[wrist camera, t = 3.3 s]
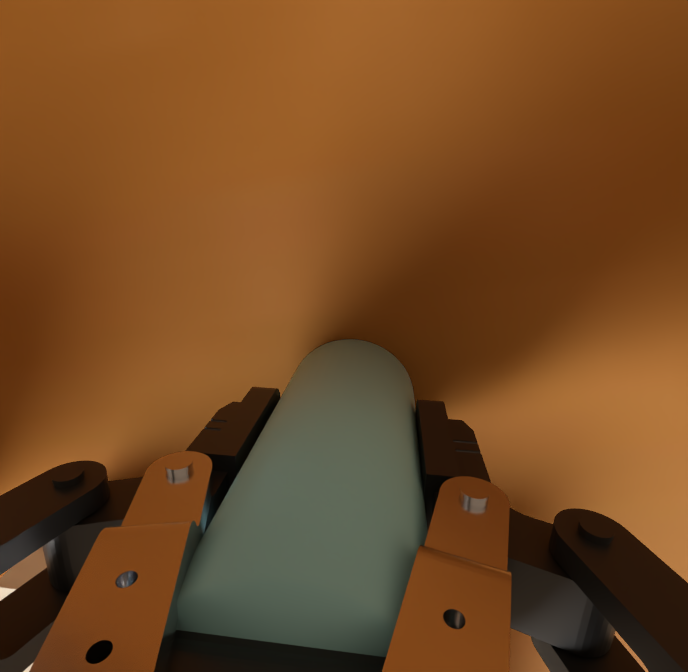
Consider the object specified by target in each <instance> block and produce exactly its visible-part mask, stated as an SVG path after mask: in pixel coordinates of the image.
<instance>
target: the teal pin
mask: <svg viewBox="0 0 688 672" xmlns="http://www.w3.org/2000/svg"><path fill="white" fill-rule="evenodd" d="M415 412H416V410H415V400H414V391H413V386H412V382H411V379H410V377H409V375H408V373H407V371H406V369H405V368H404V366H403V365H402V364H401V362H400V361H399V360H398V359H397V358H396V357H395V356H394V355H393V354H391V353H390V352H388V351H387V350H386V349H384V348H382V347H380V346H378V345H376V344H373V343H371V342H367V341H363V340H356V339H343V340H336V341H332V342H329V343H326V344H324V345H322V346H320V347H318V348H316V349H315V350H313V351H312V352H311V353H309V354H308V355H307V356H306V357H305V358H304V359H303V361H302V362H301V363H300V365H299V366H298V368H297V370H296V371H295V373H294V375H293V377H292V379H291V380H290V382H289V384H288V386H287V387H286V389H285V391H284V393H283V395H282V396H281V398H280V400H279V402H278V403H277V405H276V407H275V409H274V411H273V412H272V414H271V416H270V418H269V419H268V421H267V423H266V425H265V427H264V428H263V430H262V432H261V434H260V435H259V437H258V439H257V441H256V443H255V444H254V446H253V448H252V450H251V451H250V453H249V455H248V457H247V459H246V460H245V462H244V464H243V466H242V468H241V469H240V471H239V473H238V475H237V476H236V478H235V480H234V482H233V484H232V485H231V487H230V489H229V491H228V492H227V494H226V496H225V498H224V500H223V501H222V503H221V505H220V507H219V508H218V510H217V512H216V514H215V516H214V517H213V519H212V521H211V523H210V524H209V526H208V528H207V530H206V532H205V533H204V535H203V537H202V539H201V541H200V542H199V544H198V546H197V548H196V551H195V553H194V556H193V558H192V560H191V563H190V566H189V568H188V571H187V574H186V577H185V580H184V582H183V585H182V588H181V591H180V594H179V597H178V600H177V609H178V622H177V627H176V630H182V631H190V632H198V633H205V634H213V635H220V636H228V637H236V638H243V639H251V640H259V641H266V642H274V643H281V644H289V645H297V646H304V647H312V648H320V649H327V650H335V651H342V652H350V653H358V654H365V655H373V656H380V657H386V656H387V653H388V649H389V646H390V643H391V639H392V636H393V632H394V629H395V626H396V622H397V619H398V616H399V612H400V609H401V605H402V602H403V599H404V595H405V592H406V588H407V585H408V582H409V578H410V575H411V571H412V568H413V565H414V561H415V558H416V554H417V551H418V548H419V546H420V545H423V546H424V544H425V541H426V537H427V534H428V531H427V521H426V511H425V503H424V494H423V484H422V474H421V464H420V454H419V444H418V433H417V423H416V413H415Z"/></svg>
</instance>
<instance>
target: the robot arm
mask: <svg viewBox="0 0 688 672" xmlns="http://www.w3.org/2000/svg"><path fill="white" fill-rule="evenodd" d="M279 400H280V392H279V390H278V389H274V388H261V387H252V388H251V389H250V391H249V392H248V393H247V395H246V396H245V397H244V399H243V400H242V402H232V403H230V404H228V405H226V406H225V407H223V408H221V409H219V410H218V412H217V413H216V414H215V415H214V416H213V418H212V419H211V421H209V423H208V424H207V425H206V426H205V429H203V430H202V431H201V432H200V434H199V435H198V436H197V437H196V439H195V440H194V441H193V442H192V443H191V445H190V446H189V447H188V448H187V450H186V451H183V452H176V453H172V454H168V455H166V456H163V457H161V458H159V459H158V460H156V461H154V462H153V463H152V464H151V465H150V466H149V467H148V468H147V470H146V472H145V474H144V476H143V477H140V478H133V479H124V480H115V481H108V477H107V471H106V468H105V466H104V465H102V464H100V463H98V462H94V461H77V462H71V463H66V464H63V465H60V466H57V467H55V468H52V469H50V470H48V471H46V472H44V473H42V474H41V475H39V476H37V477H35V478H33V479H31V480H29V481H27V482H25V483H24V484H22V485H20V486H18V487H16V488H14V489H12V490H10V491H8V492H6V493H5V494H3V495H1V496H0V575H1V574H2V573H4V572H5V571H7V570H8V569H10V568H11V567H13V566H14V565H16V564H17V563H19V562H20V561H22V560H23V559H25V558H26V557H27V556H29V555H30V554H32V553H33V552H35V551H36V550H38V549H39V548H41V547H42V548H43V552H44V557H45V561H46V566H47V568H45V569H44V570H43V571H41V572H40V573H38V574H37V575H36V576H34V577H33V578H31V579H30V580H29V581H27V582H26V583H24V584H23V585H22V586H20V587H19V588H17V589H16V590H15V591H13V592H12V593H10V594H9V595H8V596H6V597H5V598H3V599H2V600H1V601H0V672H23V671H24V670H25V669H27V668H28V667H29V666H30V665H31V664H32V663H33V662H34V663H33V665H32V667H31V669H30V671H29V672H509V661H510V628H512V629H515V630H517V631H520V632H522V633H524V634H527V635H529V636H531V639H532V642H533V644H534V646H535V648H536V650H537V651H538V653H539V655H540V656H541V658H542V659H543V661H544V662H545V664H546V665H547V667H548V668H549V670H550V672H645V671H644V670H643V668H642V667H641V666H640V665H639V664H638V662H637V661H636V660H635V659H634V658H633V657H632V655H631V654H630V653H629V652H628V651H627V649H626V648H625V647H624V646H623V645H622V643H621V642H620V641H619V640H618V639H617V638H616V636H615V635H614V634H615V631H617V632H618V634H619V635H620V636H621V637H622V638H623V639H624V641H625V642H626V643H627V644H628V645H629V646H630V648H631V649H632V650H633V651H634V652H635V653H636V655H637V656H638V657H639V658H640V659H641V661H642V662H643V663H644V665H645V666H646V668H647V669H648V671H649V672H688V583H687V582H686V581H685V580H684V579H682V578H681V577H680V576H679V575H678V574H677V573H676V572H674V571H673V570H672V569H671V568H670V567H669V566H668V565H666V564H665V563H664V562H663V561H662V560H661V559H660V558H658V557H657V556H656V555H655V554H654V553H653V552H652V551H651V550H649V549H648V548H647V547H646V546H645V545H644V544H643V543H641V542H640V541H639V540H638V539H637V538H636V537H635V536H633V535H632V534H631V533H630V532H629V531H628V530H627V529H625V528H624V527H623V526H622V525H620V524H619V523H617V522H616V521H614V520H612V519H610V518H609V517H606V516H604V515H602V514H599V513H596V512H593V511H589V510H585V509H566V510H563V511H561V512H559V513H558V514H557V515H556V516H555V519H554V523H553V524H550V523H547V522H544V521H541V520H537V519H534V518H531V517H528V516H525V515H523V514H521V513H518V512H516V511H515V510H513V509H511V508H510V504H509V500H508V498H507V496H506V495H505V493H504V492H503V491H502V490H501V489H499V488H498V487H497V486H495V485H494V484H492V483H491V482H490V479H489V476H488V473H487V470H486V467H485V464H484V461H483V458H482V455H481V454H480V449H479V446H478V444H477V440H476V437H475V434H474V431H473V430H472V429H471V428H470V427H469V426H468V425H467V424H466V423H465V422H464V421H462V420H451V419H448V417H447V413H446V409H445V405H444V402H442V401H429V400H417V403H416V412H415V413H416V423H417V433H418V444H419V454H420V464H421V474H422V484H423V494H424V503H425V511H426V521H427V531H428V534H427V537H426V541H425V544H424V546H423V545H420V546H419V548H418V551H417V554H416V558H415V561H414V565H413V568H412V571H411V575H410V578H409V582H408V585H407V588H406V592H405V595H404V599H403V602H402V605H401V609H400V612H399V616H398V619H397V622H396V626H395V629H394V632H393V636H392V639H391V643H390V646H389V649H388V653H387V656H386V657H380V656H373V655H365V654H358V653H350V652H342V651H335V650H327V649H320V648H312V647H304V646H297V645H289V644H281V643H274V642H266V641H259V640H251V639H243V638H236V637H228V636H220V635H213V634H205V633H198V632H190V631H182V630H176V627H177V622H178V609H177V600H178V597H179V594H180V591H181V588H182V585H183V582H184V580H185V577H186V574H187V571H188V568H189V566H190V563H191V560H192V558H193V556H194V553H195V551H196V548H197V546H198V544H199V542H200V541H201V539H202V537H203V535H204V533H205V532H206V530H207V528H208V526H209V524H210V523H211V521H212V519H213V517H214V516H215V514H216V512H217V510H218V508H219V507H220V505H221V503H222V501H223V500H224V498H225V496H226V494H227V492H228V491H229V489H230V487H231V485H232V484H233V482H234V480H235V478H236V476H237V475H238V473H239V471H240V469H241V468H242V466H243V464H244V462H245V460H246V459H247V457H248V455H249V453H250V451H251V450H252V448H253V446H254V444H255V443H256V441H257V439H258V437H259V435H260V434H261V432H262V430H263V428H264V427H265V425H266V423H267V421H268V419H269V418H270V416H271V414H272V412H273V411H274V409H275V407H276V405H277V403H278V402H279Z"/></svg>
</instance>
